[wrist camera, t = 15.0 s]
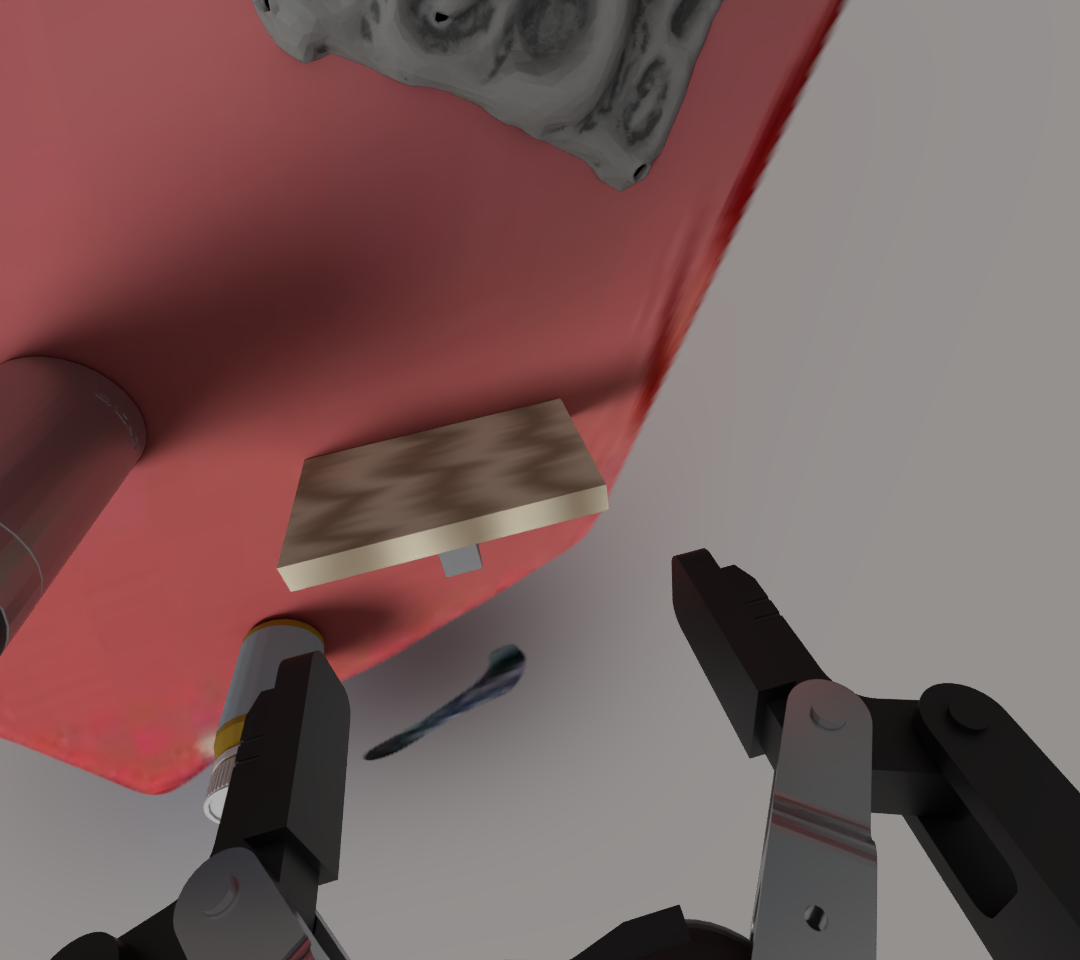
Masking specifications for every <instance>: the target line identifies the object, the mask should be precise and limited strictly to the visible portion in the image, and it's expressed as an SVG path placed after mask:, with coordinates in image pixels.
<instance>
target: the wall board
mask: <svg viewBox="0 0 1080 960" xmlns="http://www.w3.org/2000/svg"><path fill="white" fill-rule="evenodd" d="M606 510H609V507H608V497H607V488H606V483H605V482H604V480H603V478H602V476H601V474H600V472H599V470H598V468H597V466H596V465H595V463H594V461H593V459H592V457H591V455H590V453H589V451H588V449H587V448H586V446H585V444H584V442H583V440H582V438H581V436H580V434H579V432H578V431H577V429H576V427H575V425H574V423H573V421H572V419H571V417H570V415H569V414H568V412H567V410H566V408H565V406H564V404H563V402H562V400H561V398H559V399H555V400H551V401H547V402H542V403H538V404H534V405H530V406H526V407H522V408H518V409H513V410H509V411H505V412H501V413H497V414H493V415H489V416H484V417H480V418H476V419H472V420H468V421H464V422H460V423H455V424H451V425H447V426H443V427H439V428H435V429H431V430H426V431H422V432H418V433H414V434H410V435H406V436H402V437H397V438H393V439H389V440H385V441H381V442H377V443H373V444H368V445H364V446H360V447H356V448H352V449H348V450H344V451H339V452H335V453H331V454H327V455H323V456H319V457H315V458H310V459H306V460H304V464H303V468H302V472H301V476H300V480H299V484H298V488H297V492H296V496H295V500H294V504H293V508H292V511H291V515H290V519H289V523H288V527H287V531H286V535H285V539H284V543H283V547H282V551H281V555H280V559H279V563H278V566H277V569H278V571H279V573H280V574H281V576H282V578H283V579H284V581H285V582H286V584H287V586H288V587H289V589H290V591H291V592H292V591H296V590H300V589H304V588H308V587H312V586H316V585H319V584H323V583H327V582H331V581H335V580H339V579H343V578H347V577H350V576H354V575H358V574H362V573H366V572H370V571H374V570H377V569H381V568H385V567H389V566H393V565H397V564H401V563H404V562H408V561H412V560H416V559H420V558H424V557H428V556H432V555H435V554H439V553H443V552H447V551H451V550H455V549H459V548H462V547H466V546H470V545H474V544H478V543H482V542H486V541H490V540H493V539H497V538H501V537H505V536H509V535H513V534H517V533H520V532H524V531H528V530H532V529H536V528H540V527H544V526H548V525H551V524H555V523H559V522H563V521H567V520H571V519H575V518H578V517H582V516H586V515H590V514H594V513H598V512H602V511H606Z"/></svg>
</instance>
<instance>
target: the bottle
mask: <svg viewBox="0 0 1080 960" xmlns="http://www.w3.org/2000/svg"><path fill="white" fill-rule="evenodd" d="M324 648H325V644H324V640H323V637H322V636H321V635H320V633H319V632H318V631H317V630H316V629H314V628H313V627H312V626H310V625H309V624H307V623H305V622H302V621H299V620H295V619H285V618H284V619H274V620H271V621H268V622H265V623H263V624H260V625H258V626H257V627H255V628H253V629H252V630H250V631H249V632H248V634H247V635H246V636H245V638H244V640H243V643H242V645H241V649H240V652H239V656H238V660H237V663H236V667H235V670H234V674H233V677H232V681H231V684H230V688H229V691H228V695H227V698H226V702H225V705H224V709H223V712H222V716H221V719H220V723H219V727H218V730H217V734H216V739H215V743H214V753H215V760H216V763H215V765H214V769H213V772H212V773H213V774H212V775H211V778H210V782H209V786H208V789H207V793H206V797H205V800H204V812H205V814H206V816H207V817H208V818H209V819H211V820H212V821H214V822H216V823H218V824H220V820H221V816H222V811H223V807H224V803H225V799H226V795H227V791H228V787H229V783H230V779H231V775H232V771H233V767H235V758H236V754H237V750H238V746H240V738H241V734H242V730H243V726H244V721H245V717H246V715H247V713H248V712H249V710H250V709H251V707H252V705H253V704H254V702H255V700H256V699H257V697H258V696H259V694H260V692H261V691H265V690H268V689H272V688H274V686H275V682H276V677H277V672H278V668H279V665H280V663H281V661H282V660H283V659H287V658H290V657H294V656H298V655H302V654H305V653H309V652H313V651H317V650H319V651H321V652H322V653H323V655H324Z"/></svg>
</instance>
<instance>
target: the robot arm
mask: <svg viewBox="0 0 1080 960" xmlns="http://www.w3.org/2000/svg"><path fill="white" fill-rule="evenodd" d="M145 445H146V428H145V424H144V420H143V418H142V416H141V414H140V412H139V410H138V408H137V406H136V405H135V404H134V402H133V401H132V400H131V399H130V398H129V396H128V395H127V394H126V393H125V392H124V391H123V390H122V389H120V388H119V387H118V386H117V385H116V384H115V383H114V382H112V381H111V380H109V379H107V378H106V377H104V376H103V375H101V374H100V373H98V372H96V371H94V370H92V369H89V368H87V367H85V366H83V365H80V364H77V363H74V362H70V361H67V360H63V359H58V358H50V357H43V356H41V357H22V358H18V359H14V360H9V361H7V362H5V363H3V364H1V365H0V655H1V654H2V653H3V651H4V650H5V649H6V647H7V646H8V644H9V643H10V641H11V640H12V639H13V637H14V636H15V634H16V633H17V632H18V630H19V629H20V627H21V626H22V624H23V623H24V622H25V620H26V619H27V617H28V616H29V615H30V613H31V612H32V610H33V609H34V607H35V605H36V604H37V603H38V601H39V600H40V598H41V597H42V596H43V594H44V593H45V591H46V590H47V589H48V587H49V586H50V584H51V583H52V581H53V580H54V579H55V577H56V576H57V574H58V573H59V572H60V570H61V569H62V567H63V566H64V564H65V563H66V562H67V560H68V559H69V557H70V556H71V555H72V553H73V552H74V550H75V549H76V547H77V546H78V545H79V543H80V542H81V540H82V539H83V538H84V536H85V535H86V533H87V532H88V531H89V529H90V528H91V526H92V525H93V523H94V522H95V521H96V519H97V518H98V516H99V515H100V514H101V512H102V511H103V509H104V508H105V506H106V505H107V504H108V502H109V501H110V499H111V498H112V497H113V495H114V494H115V492H116V491H117V490H118V488H119V487H120V485H121V484H122V482H123V481H124V479H125V478H126V476H127V475H128V474H129V472H130V471H131V469H132V468H133V467H134V465H135V464H136V462H137V461H138V459H139V458H140V457H141V455H142V453H143V451H144V448H145ZM672 590H673V591H672V592H673V593H672V595H673V606H674V611H675V614H676V617H677V620H678V623H679V625H680V627H681V629H682V631H683V633H684V634H685V637H686V639H687V640H688V642H689V644H690V646H691V648H692V650H693V652H694V654H695V656H696V657H697V659H698V661H699V663H700V665H701V667H702V669H703V671H704V673H705V675H706V676H707V678H708V680H709V682H710V684H711V686H712V688H713V690H714V692H715V693H716V695H717V697H718V699H719V701H720V703H721V705H722V707H723V709H724V711H725V712H726V714H727V716H728V718H729V720H730V722H731V724H732V726H733V728H734V730H735V731H736V733H737V735H738V737H739V739H740V741H741V743H742V745H743V746H744V749H745V750H746V752H747V754H748V756H749V758H753V757H756V756H760V755H763V754H766V756H767V758H768V760H769V762H770V763H771V765H772V767H773V769H774V776H773V784H772V790H771V797H770V804H769V811H768V818H767V824H766V831H765V838H764V845H763V852H762V859H761V866H760V872H759V879H758V884H757V892H756V897H755V903H754V910H753V917H752V924H751V931H750V937H749V939H747V938H746V937H744V936H742V935H740V934H739V933H736V932H734V931H732V930H730V929H728V928H726V927H723V926H720V925H717V924H714V923H711V922H705V921H701V920H690V919H684V916H683V913H682V910H681V907H680V905H677V906H673V907H670V908H667V909H664V910H661V911H657V912H654V913H651V914H648V915H645V916H642V917H639V918H635V919H632V920H629V921H626V922H623V923H622V924H620V925H619V926H618V927H616V928H615V929H613V930H612V931H611V932H609V933H608V934H606V935H605V936H604V937H602V938H601V939H599V940H598V941H597V942H595V943H594V944H592V945H591V946H590V947H588V948H587V949H585V950H584V951H583V952H581V953H580V954H578V955H577V956H576V957H574V958H573V959H571V960H876V934H877V933H876V932H877V851H876V846H875V842H874V841H873V840H872V838H871V829H870V828H871V827H870V826H871V823H870V822H871V812H872V813H885V814H886V813H887V814H898V815H902V816H903V817H904V819H905V820H906V822H907V824H908V825H909V827H910V828H911V830H912V831H913V833H914V835H915V836H916V838H917V839H918V841H919V843H920V844H921V846H922V847H923V849H924V850H925V852H926V853H927V855H928V857H929V858H930V860H931V862H932V863H933V865H934V866H935V868H936V869H937V871H938V873H939V874H940V876H941V877H942V879H943V881H944V882H945V884H946V885H947V887H948V888H949V890H950V891H951V893H952V895H953V896H954V898H955V900H956V901H957V902H958V904H959V906H960V907H961V909H962V910H963V912H964V914H965V915H966V917H967V918H968V920H969V921H970V923H971V925H972V926H973V928H974V930H975V931H976V933H977V934H978V936H979V937H980V939H981V940H982V942H983V944H984V945H985V947H986V949H987V950H988V952H989V953H990V955H991V956H992V958H993V960H1080V793H1079V791H1078V790H1077V789H1076V788H1075V787H1074V786H1073V785H1072V784H1071V783H1070V782H1069V780H1068V779H1067V778H1066V777H1065V776H1064V775H1063V774H1062V773H1061V772H1060V770H1059V769H1058V768H1057V767H1056V766H1055V765H1054V764H1053V763H1052V762H1051V761H1050V759H1049V758H1048V757H1047V756H1046V755H1045V754H1044V753H1043V752H1042V750H1041V749H1040V748H1039V747H1038V746H1037V745H1036V744H1035V743H1034V742H1033V740H1032V739H1030V737H1029V736H1028V735H1027V734H1026V733H1025V732H1024V731H1023V729H1022V728H1021V727H1020V726H1019V725H1018V724H1017V723H1016V722H1015V721H1014V719H1013V718H1012V717H1011V716H1010V715H1009V714H1008V713H1007V712H1006V711H1005V710H1004V709H1003V708H1002V707H1001V706H1000V705H999V704H998V703H997V702H996V701H994V700H993V699H992V698H990V697H988V696H987V695H986V694H984V693H982V692H980V691H978V690H976V689H973V688H971V687H968V686H963V685H960V684H953V683H943V684H937V685H934V686H931V687H930V688H928V689H927V690H926V691H924V693H923V694H922V696H921V698H920V700H899V699H898V700H897V699H876V698H868V697H863V696H860V695H857V694H855V693H854V692H853V691H851V690H850V689H848V688H846V687H845V686H843V685H841V684H839V683H836V682H833V681H832V680H831V679H830V678H829V677H828V676H826V674H825V673H824V672H823V671H822V670H821V668H820V667H819V666H818V664H817V663H816V661H815V660H814V659H813V657H812V656H811V655H810V653H809V652H808V650H807V649H806V648H805V646H804V645H803V644H802V642H801V641H800V640H799V638H798V637H797V636H796V634H795V633H794V632H793V630H792V629H791V627H790V626H789V625H788V623H787V622H786V620H785V619H784V618H783V617H782V616H780V614H779V611H778V610H777V608H776V607H775V605H774V604H773V603H772V601H771V600H770V601H769V599H768V596H767V595H766V593H765V592H764V590H763V589H762V588H761V586H760V585H759V584H758V582H757V581H756V580H755V578H753V577H752V576H750V575H749V574H747V573H746V572H744V571H743V570H741V569H740V568H738V567H737V566H735V565H731V566H727V567H724V568H720V567H719V566H718V564H717V563H716V561H715V560H714V558H713V557H712V555H711V554H710V552H709V551H708V550H706V549H705V548H703V549H699V550H695V551H692V552H688V553H684V554H680V555H677V556H673V558H672ZM349 728H350V705H349V700H348V696H347V693H346V691H345V689H344V687H343V685H342V684H341V682H340V680H339V679H338V677H337V676H336V674H335V672H334V671H333V669H332V668H331V666H330V664H329V663H328V661H327V659H326V658H325V656H324V655H323V653H322V652H321V651H319V650H317V651H313V652H309V653H305V654H302V655H298V656H294V657H290V658H287V659H283V660H282V661H281V663H280V665H279V668H278V672H277V677H276V682H275V686H274V688H272V689H268V690H265V691H261V692H260V694H259V696H258V697H257V699H256V700H255V702H254V704H253V705H252V707H251V709H250V710H249V712H248V713H247V715H246V717H245V721H244V726H243V730H242V734H241V738H240V746H238V750H237V754H236V758H235V767H233V771H232V775H231V779H230V783H229V787H228V791H227V795H226V799H225V803H224V807H223V811H222V816H221V820H220V824H219V828H218V832H217V836H216V840H215V844H214V847H213V851H212V853H211V855H210V858H209V859H208V860H207V861H205V862H204V863H203V864H202V865H201V866H200V867H199V868H198V869H197V870H196V871H195V872H194V873H193V874H192V876H191V877H190V878H189V879H188V881H187V883H186V884H185V886H184V887H183V889H182V891H181V893H180V895H179V898H178V899H177V900H176V901H174V902H173V903H172V904H170V905H169V906H167V907H166V908H164V909H163V910H161V911H160V912H158V913H157V914H155V915H153V916H152V917H150V918H149V919H147V920H146V921H144V922H142V923H141V924H139V925H138V926H136V927H135V928H133V929H132V930H130V931H128V932H127V933H125V934H124V935H122V936H120V937H119V938H115V937H113V936H111V935H109V934H107V933H104V932H93V933H89V934H86V935H84V936H82V937H79V938H77V939H76V940H74V941H73V942H71V943H69V944H68V945H66V946H65V947H64V948H62V949H61V950H60V951H59V952H58V953H57V954H56V955H55V956H53V957H52V959H51V960H350V958H349V956H348V955H347V954H346V952H345V951H344V950H343V948H342V946H341V945H340V944H339V942H338V940H337V939H336V937H335V936H334V934H333V933H332V932H331V930H330V929H329V927H328V926H327V924H326V923H325V921H324V920H323V918H322V917H321V915H320V914H319V912H318V911H317V910H316V901H317V891H318V885H322V884H325V883H328V882H331V881H334V880H338V870H339V858H340V844H341V832H342V819H343V805H344V793H345V780H346V767H347V754H348V739H349Z"/></svg>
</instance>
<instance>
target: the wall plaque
mask: <svg viewBox="0 0 1080 960" xmlns="http://www.w3.org/2000/svg"><path fill="white" fill-rule="evenodd" d="M268 1H269V6H270V10H269V8H268V7H267V5H266V4H265V1H264V0H252V2H253V3H254V6H255V9H256V11H257V14H258V16H259V18H260V20H261V22H262V24H263V26H264V27H265V29H266V30H267V32H268V33H269V34H270V36H271V37H272V39H273V40H274V41H275V43H276V44H277V46H278V47H280V48H281V49H282V50H284V51H285V52H287V53H288V54H289V55H291V56H292V57H294V58H295V59H297V60H298V61H300V62H303V63H306V64H308V63H310V62H312V61H315V60H317V59H319V58H321V57H323V56H325V55H327V54H328V53H329V54H336V55H338V56H341V57H344V58H346V59H349V60H351V61H354V62H357V63H359V64H362V65H365V66H367V67H370V68H372V69H374V70H375V71H377V72H379V73H381V74H383V75H384V76H387V77H389V78H392V79H394V80H397V81H399V82H401V83H403V84H406V85H410V86H426V87H430V88H435V89H439V90H443V91H447V92H450V93H451V94H453V95H455V96H457V97H460V98H463V99H465V100H468V101H471V102H473V103H475V104H477V105H479V106H481V107H482V108H483V109H484V110H485V111H486V112H488V113H489V114H490V115H492V116H493V117H495V118H496V119H498V120H499V121H501V122H503V123H504V124H507V125H511V126H515V127H518V128H520V129H522V130H523V131H525V132H526V133H527V134H529V135H530V136H532V137H533V138H535V139H538V140H542V141H545V142H547V143H549V144H551V145H553V146H555V147H557V148H558V149H560V150H562V151H565V152H568V153H570V154H572V155H574V156H576V157H578V158H580V159H582V160H584V161H585V162H586V163H587V164H588V165H589V166H590V167H591V168H592V169H593V170H594V172H595V174H596V175H597V177H598V178H599V180H601V181H602V182H604V183H606V184H608V185H610V186H612V187H613V188H615V189H617V190H619V191H620V192H621V191H623V190H625V189H626V188H628V187H630V186H632V185H634V184H635V183H636V182H638V181H640V180H643V179H644V177H645V176H646V175H647V174H648V172H649V169H650V167H651V163H652V162H653V161H654V160H655V159H656V158H657V157H658V156H659V155H660V153H661V151H662V149H663V147H664V145H665V142H666V140H667V137H668V134H669V131H670V129H671V127H672V125H673V123H674V120H675V118H676V115H677V113H678V111H679V108H680V106H681V104H682V102H683V99H684V96H685V93H686V90H687V86H688V82H689V79H690V76H691V73H692V70H693V66H694V64H695V61H696V59H697V57H698V54H699V52H700V50H701V47H702V45H703V42H704V40H705V38H706V35H707V33H708V30H709V28H710V25H711V23H712V20H713V19H714V17H715V15H716V14H717V12H718V10H719V8H720V6H721V4H722V1H723V0H268ZM437 12H438V13H441V14H444V15H447V16H449V17H448V19H447V20H446V21H442V22H438V21H436V20H435V17H436V13H437ZM641 165H643V167H642V168H641V169H640V171H639V172H638V173H637V175H636V176H635V177H634V173H635V172H636V170H637V169H638V168H639V167H640V166H641Z"/></svg>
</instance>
